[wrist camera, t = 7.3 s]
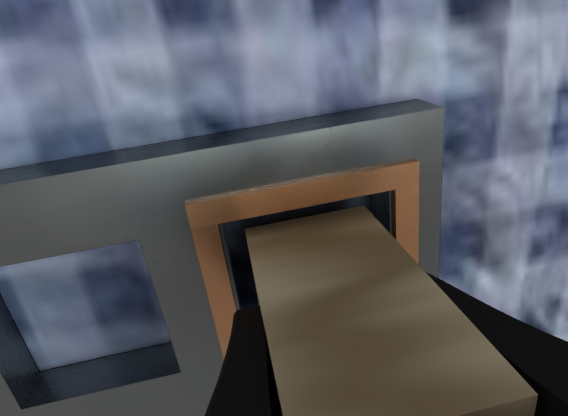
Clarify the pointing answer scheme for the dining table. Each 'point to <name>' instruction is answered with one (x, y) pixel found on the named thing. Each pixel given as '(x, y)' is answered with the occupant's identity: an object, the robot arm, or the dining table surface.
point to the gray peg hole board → (203, 238)
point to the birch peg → (370, 327)
